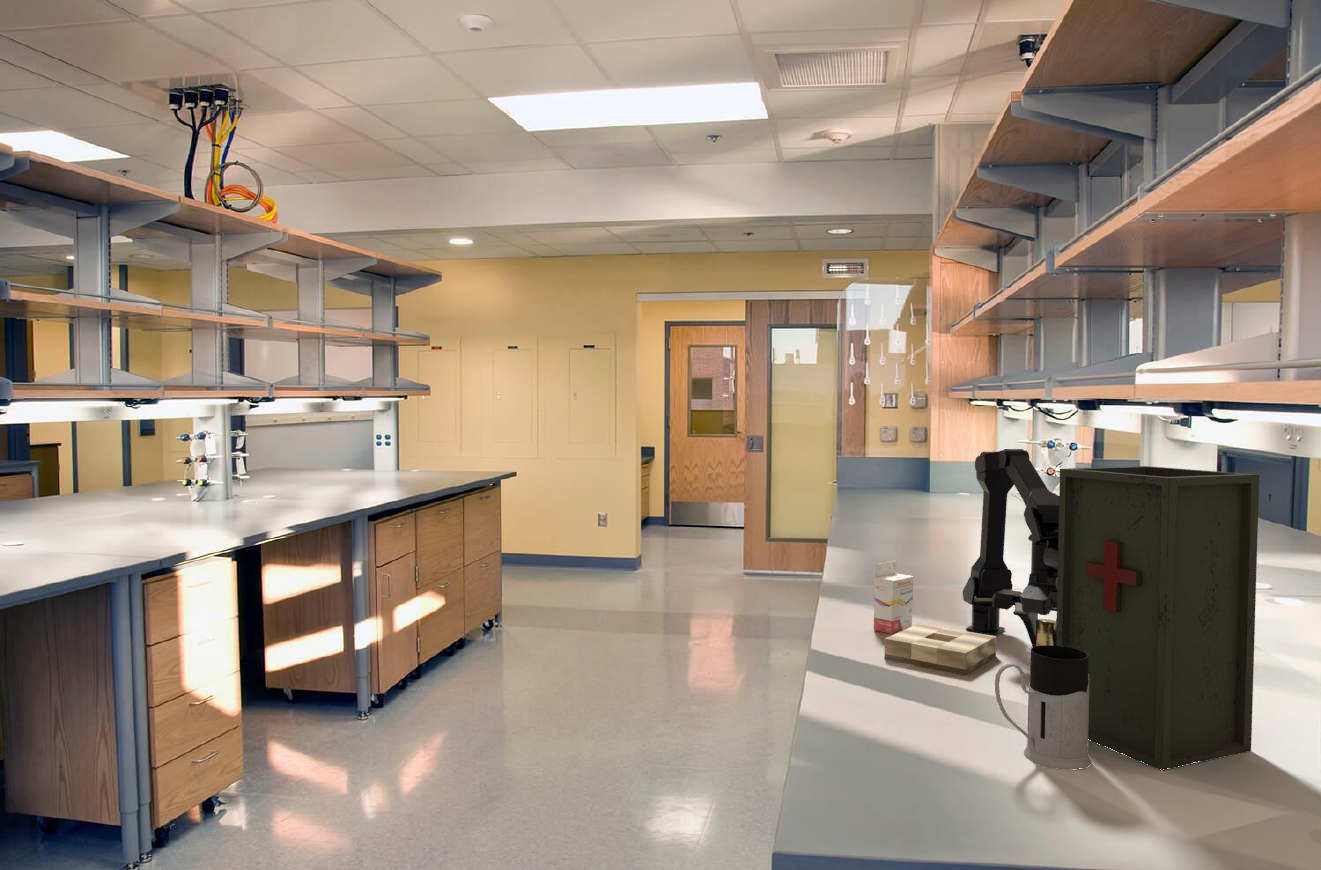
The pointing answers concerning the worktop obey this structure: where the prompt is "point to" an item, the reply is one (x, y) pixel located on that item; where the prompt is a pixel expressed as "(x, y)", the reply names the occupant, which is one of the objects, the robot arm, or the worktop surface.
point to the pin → (1045, 632)
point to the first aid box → (1161, 607)
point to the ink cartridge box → (892, 599)
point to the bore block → (941, 648)
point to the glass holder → (1055, 706)
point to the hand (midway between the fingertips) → (1045, 650)
